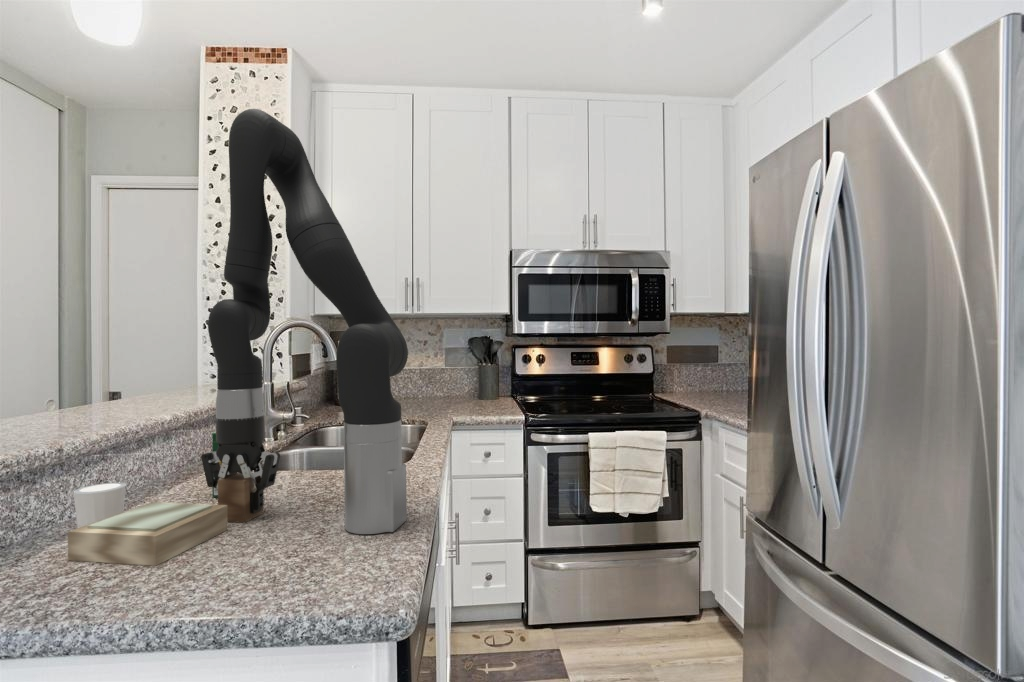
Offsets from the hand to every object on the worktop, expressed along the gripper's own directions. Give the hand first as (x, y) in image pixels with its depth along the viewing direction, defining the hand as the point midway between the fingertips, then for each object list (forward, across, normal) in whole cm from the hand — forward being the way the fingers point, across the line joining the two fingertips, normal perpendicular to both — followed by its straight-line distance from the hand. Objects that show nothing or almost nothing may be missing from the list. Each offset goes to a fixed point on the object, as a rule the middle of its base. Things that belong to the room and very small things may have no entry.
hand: (241, 511), depth 91 cm
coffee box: (+1, +14, -14) cm, 20 cm away
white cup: (+1, +19, +9) cm, 21 cm away
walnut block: (+1, 0, 0) cm, 1 cm away
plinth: (+1, +5, +13) cm, 14 cm away
